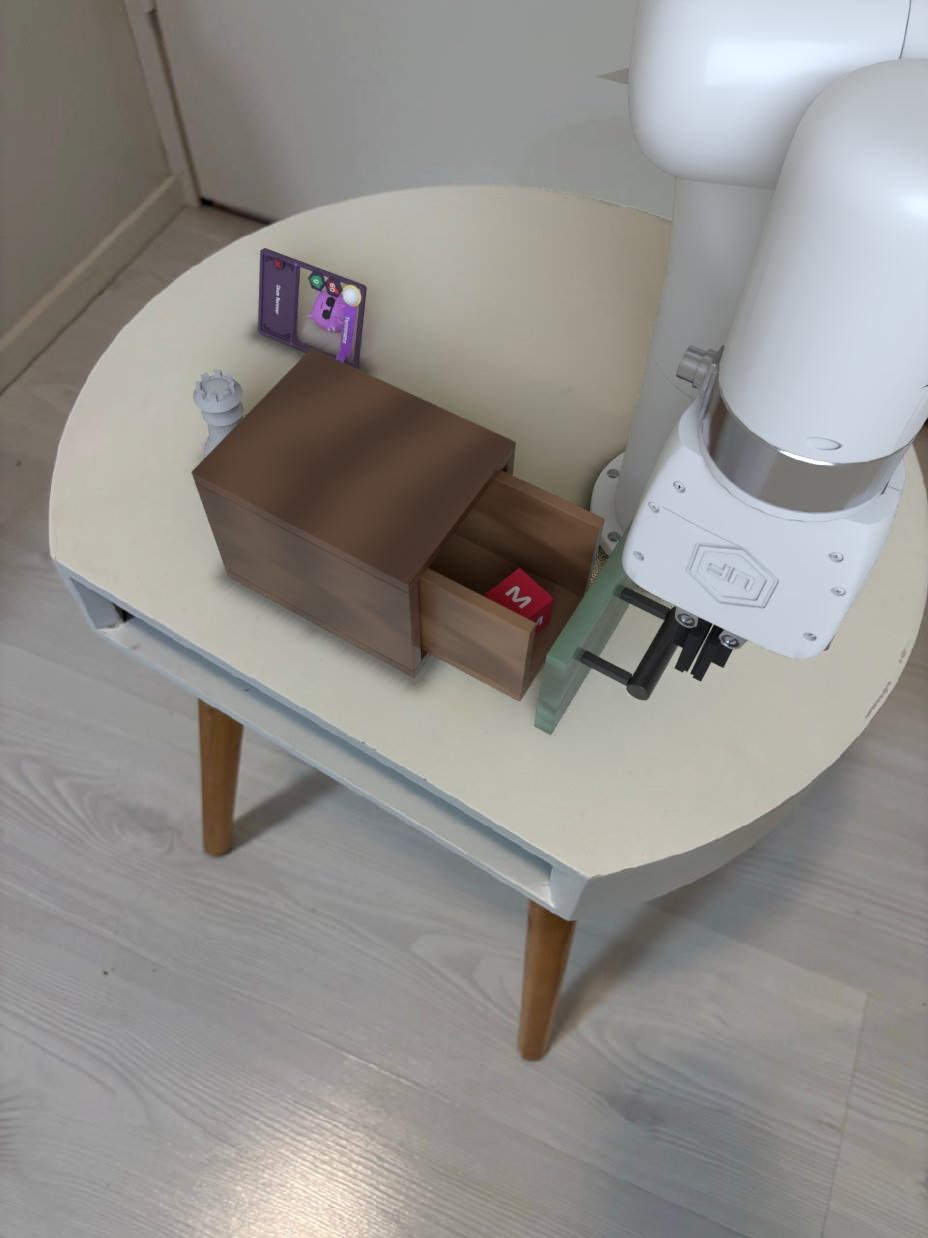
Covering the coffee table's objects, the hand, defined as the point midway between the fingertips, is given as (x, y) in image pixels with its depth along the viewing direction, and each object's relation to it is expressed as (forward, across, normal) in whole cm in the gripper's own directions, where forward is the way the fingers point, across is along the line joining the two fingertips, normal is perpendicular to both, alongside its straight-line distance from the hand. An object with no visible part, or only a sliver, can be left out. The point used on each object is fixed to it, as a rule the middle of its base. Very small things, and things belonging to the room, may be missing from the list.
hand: (698, 654), depth 53 cm
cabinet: (+8, -22, 0) cm, 24 cm away
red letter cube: (+6, -11, 0) cm, 13 cm away
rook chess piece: (+8, -35, +2) cm, 36 cm away
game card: (+8, -38, +16) cm, 42 cm away
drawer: (+7, -10, 0) cm, 13 cm away
